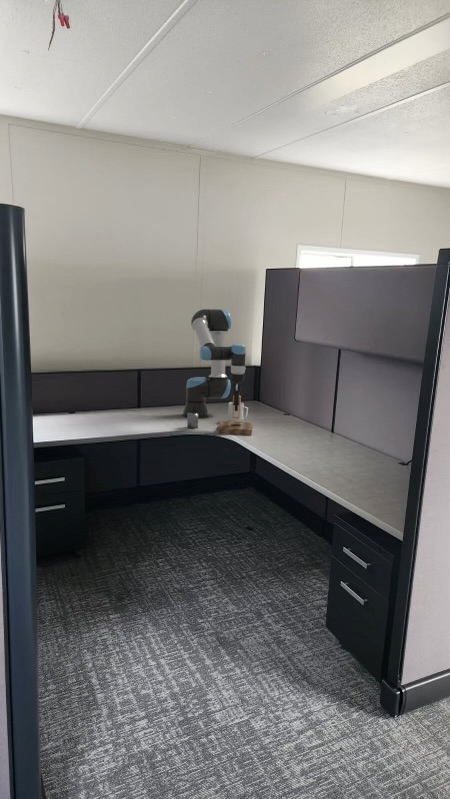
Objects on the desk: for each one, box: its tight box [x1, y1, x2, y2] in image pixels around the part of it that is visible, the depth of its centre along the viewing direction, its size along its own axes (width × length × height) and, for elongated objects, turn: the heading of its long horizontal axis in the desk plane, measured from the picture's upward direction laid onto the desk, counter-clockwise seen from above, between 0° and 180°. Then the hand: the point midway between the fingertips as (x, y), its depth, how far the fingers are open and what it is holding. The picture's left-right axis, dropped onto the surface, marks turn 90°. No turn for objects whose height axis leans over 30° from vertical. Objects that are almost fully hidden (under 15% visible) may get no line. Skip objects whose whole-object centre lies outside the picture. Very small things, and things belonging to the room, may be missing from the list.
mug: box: [227, 401, 249, 422], centre depth 317 cm, size 12×9×11 cm
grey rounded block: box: [186, 413, 199, 430], centre depth 300 cm, size 6×6×8 cm
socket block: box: [217, 420, 254, 436], centre depth 297 cm, size 18×18×3 cm
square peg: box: [232, 394, 242, 419], centre depth 295 cm, size 4×4×12 cm
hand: (236, 415), depth 296 cm, fingers closed on square peg, 4 cm apart
